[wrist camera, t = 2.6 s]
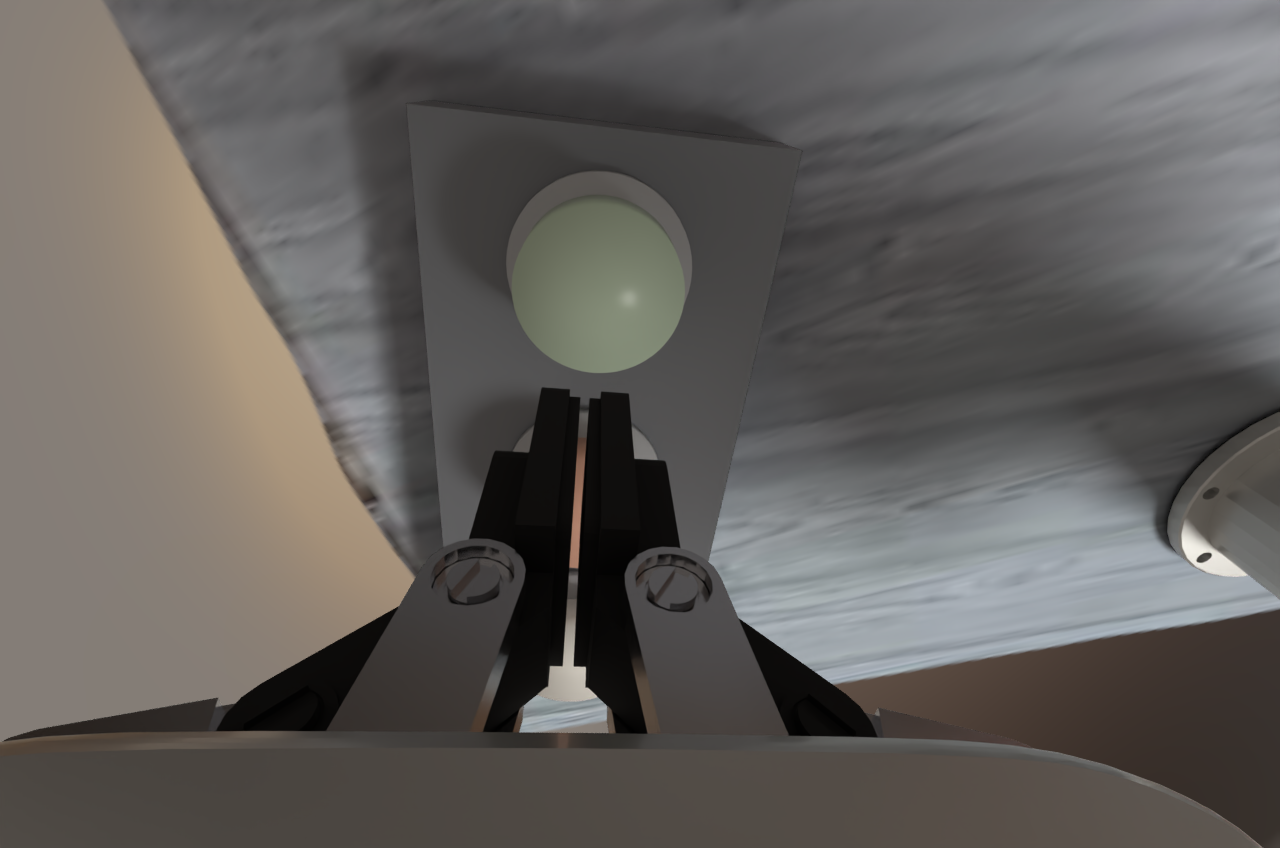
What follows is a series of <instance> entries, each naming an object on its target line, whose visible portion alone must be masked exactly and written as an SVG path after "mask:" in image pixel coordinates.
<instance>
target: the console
mask: <svg viewBox="0 0 1280 848" xmlns="http://www.w3.org/2000/svg"><path fill="white" fill-rule="evenodd" d="M406 109H407V120H408V132H409V144H410V156H411V168H412V180H413V192H414V204H415V216H416V228H417V240H418V252H419V264H420V276H421V288H422V300H423V312H424V324H425V336H426V348H427V360H428V372H429V384H430V396H431V408H432V420H433V432H434V443H435V455H436V467H437V479H438V491H439V503H440V515H441V527H442V539H443V547H445V546H447V545H450V544H453V543H455V542H458V541H462V540H468V539H469V536H470V533H471V529H472V526H473V522H474V519H475V515H476V512H477V509H478V505H479V502H480V498H481V495H482V491H483V488H484V484H485V481H486V477H487V474H488V470H489V467H490V464H491V460H492V457H493V454H494V452H495V451H496V450H497V451H514V452H529V449H530V444H531V439H532V434H533V429H534V424H535V419H536V414H537V408H538V403H539V398H540V393H541V388H542V387H546V388H561V389H570V397H581V399H580V415H579V430H578V438H587V426H588V412H589V399H590V398H598V399H600V395H601V391H603V392H617V393H629V399H630V411H631V423H632V435H633V447H634V458H635V459H649V460H664V461H666V464H667V469H668V475H669V481H670V487H671V493H672V499H673V505H674V511H675V517H676V523H677V529H678V535H679V541H680V548H681V549H684V550H688V551H691V552H693V553H695V554H697V555H699V556H701V557H703V558H704V559H705V560H707V561H709V556H710V552H711V548H712V543H713V539H714V534H715V530H716V526H717V521H718V517H719V513H720V508H721V504H722V500H723V495H724V491H725V486H726V482H727V478H728V473H729V469H730V465H731V460H732V456H733V452H734V447H735V443H736V438H737V434H738V430H739V425H740V421H741V417H742V412H743V408H744V404H745V399H746V395H747V390H748V386H749V382H750V377H751V373H752V369H753V364H754V360H755V356H756V351H757V347H758V342H759V338H760V334H761V329H762V325H763V321H764V316H765V312H766V308H767V303H768V299H769V294H770V290H771V286H772V281H773V277H774V273H775V268H776V264H777V260H778V255H779V251H780V246H781V242H782V238H783V233H784V229H785V225H786V220H787V216H788V212H789V207H790V203H791V198H792V194H793V190H794V185H795V181H796V177H797V172H798V168H799V163H800V159H801V155H802V150H799V149H796V148H794V147H791V146H788V145H786V144H783V143H778V142H770V141H762V140H753V139H745V138H737V137H729V136H720V135H712V134H704V133H695V132H687V131H679V130H670V129H662V128H654V127H645V126H637V125H629V124H620V123H612V122H604V121H595V120H587V119H579V118H570V117H562V116H554V115H545V114H537V113H529V112H520V111H512V110H504V109H496V108H487V107H479V106H471V105H462V104H454V103H446V102H437V101H422V102H414V103H406ZM586 195H608V196H614V197H619V198H622V199H625V200H628V201H630V202H632V203H634V204H636V205H638V206H640V207H641V208H643V209H644V210H646V211H647V212H648V213H650V214H651V215H652V216H653V217H654V218H655V219H656V220H657V221H658V222H659V223H660V224H661V225H662V227H663V228H664V229H665V231H666V232H667V234H668V235H669V237H670V239H671V241H672V243H673V245H674V248H675V250H676V253H677V255H678V258H679V261H680V264H681V267H682V270H683V275H684V281H685V299H684V306H683V310H682V314H681V317H680V320H679V323H678V325H677V327H676V329H675V330H674V332H673V334H672V335H671V337H670V338H669V340H668V341H667V342H666V343H665V344H664V346H663V347H662V348H661V349H660V350H659V351H658V352H656V353H655V354H654V355H653V356H651V357H650V358H648V359H647V360H645V361H644V362H642V363H640V364H638V365H636V366H634V367H631V368H628V369H625V370H621V371H617V372H610V373H590V372H583V371H579V370H575V369H572V368H569V367H567V366H564V365H562V364H560V363H558V362H556V361H554V360H553V359H551V358H550V357H548V356H547V355H545V354H544V353H543V352H542V351H541V350H540V349H539V348H537V347H536V346H535V344H534V343H533V342H532V341H531V340H530V339H529V337H528V336H527V334H526V333H525V331H524V330H523V328H522V326H521V324H520V322H519V320H518V318H517V315H516V312H515V309H514V304H513V299H512V275H513V270H514V265H515V262H516V259H517V257H518V254H519V252H520V250H521V248H522V246H523V244H524V242H525V240H526V238H527V236H528V235H529V233H530V231H531V230H532V228H533V227H534V225H535V224H536V223H537V222H538V221H539V220H540V219H541V218H542V216H543V215H545V214H546V213H547V212H548V211H550V210H551V209H552V208H554V207H556V206H557V205H559V204H561V203H563V202H565V201H568V200H570V199H573V198H577V197H581V196H586ZM577 583H578V568H570V567H569V581H568V596H567V599H577Z"/></svg>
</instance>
